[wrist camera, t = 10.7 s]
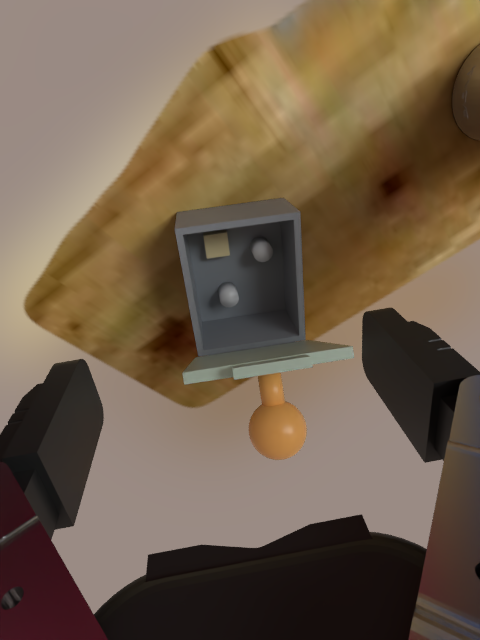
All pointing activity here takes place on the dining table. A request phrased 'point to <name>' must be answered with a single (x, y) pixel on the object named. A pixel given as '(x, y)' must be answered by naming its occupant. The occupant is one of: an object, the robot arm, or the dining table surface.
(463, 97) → the robot arm
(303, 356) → the lid
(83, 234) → the dining table surface
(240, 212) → the parts tub
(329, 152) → the dining table surface
